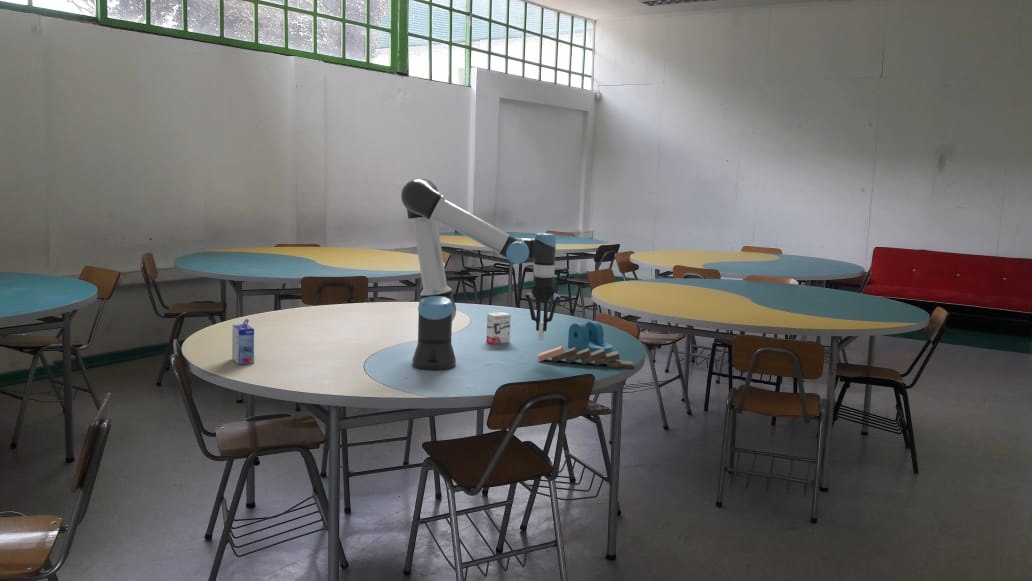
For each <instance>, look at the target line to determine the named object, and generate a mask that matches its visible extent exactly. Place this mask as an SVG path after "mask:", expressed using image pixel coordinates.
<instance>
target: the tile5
mask: <svg viewBox="0 0 1032 581" xmlns="http://www.w3.org/2000/svg"><path fill="white" fill-rule="evenodd" d="M620 359H621V358H620V353H619V350H615V351H612V352H611V353H607V354H606V356H605V357H602V358H600V359H597V360H595V361H594V364H595V366H596V367H597V366H600V365H604V364H607V362H611V361H614V360H620Z"/></svg>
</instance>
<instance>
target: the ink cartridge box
mask: <svg viewBox="0 0 1032 581" xmlns="http://www.w3.org/2000/svg"><path fill="white" fill-rule="evenodd" d="M249 322H250V320H249V319H248V318H245V319H244V321H243V323H241V324H240V323H239V324H232V339H231V342H232V345H231V349H232V350H231V359H232V360H233V361H234V362H235V363H236V364H237V365H253V364H254V363H255V328H253V327H252V326H251V325H249V324H248V323H249Z"/></svg>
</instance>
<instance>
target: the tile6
mask: <svg viewBox="0 0 1032 581" xmlns="http://www.w3.org/2000/svg"><path fill="white" fill-rule="evenodd" d="M606 367H607V368H618V367H626V368H625V369H633V360H624V359H623V360H620V359H618V360H614V361H611V362H607V363H606Z"/></svg>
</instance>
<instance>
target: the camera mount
mask: <svg viewBox="0 0 1032 581" xmlns="http://www.w3.org/2000/svg"><path fill="white" fill-rule="evenodd" d="M567 337H568V338H567V339H568V340H567V348H568V349H570V348H573V347H576V349H577V351H581V350H584V349H587V348H590V351H591V353H592V352H594V351H597V350H599V349H602V348H604V350H605V352H606V354H607V353H611V352H613V345H612V344H611V343H607V342H605V340H604V328H603V326H602V324H601V323H600V322H599V321H589V322H588V321H587V322H586V323H584V322H575V323H572V324H571V325H570V326H569V328H568V336H567Z"/></svg>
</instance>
